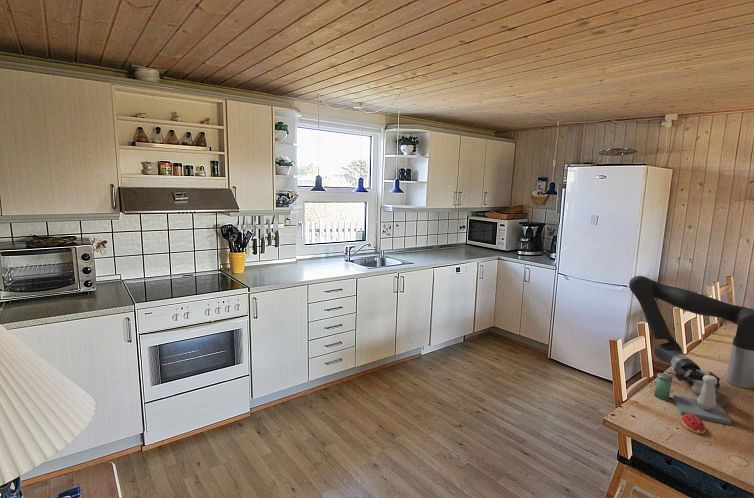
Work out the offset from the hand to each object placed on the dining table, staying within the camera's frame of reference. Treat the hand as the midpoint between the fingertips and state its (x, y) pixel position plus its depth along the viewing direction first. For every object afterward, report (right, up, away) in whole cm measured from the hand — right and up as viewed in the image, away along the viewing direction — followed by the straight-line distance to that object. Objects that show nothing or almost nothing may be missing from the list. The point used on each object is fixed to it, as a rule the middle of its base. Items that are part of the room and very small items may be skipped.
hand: (705, 385), depth 160 cm
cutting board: (-2, -10, 0) cm, 10 cm away
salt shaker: (0, -9, 0) cm, 9 cm away
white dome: (+10, -8, +15) cm, 20 cm away
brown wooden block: (+10, -9, +7) cm, 15 cm away
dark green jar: (-10, -8, +10) cm, 16 cm away
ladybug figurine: (-12, -12, -10) cm, 20 cm away
